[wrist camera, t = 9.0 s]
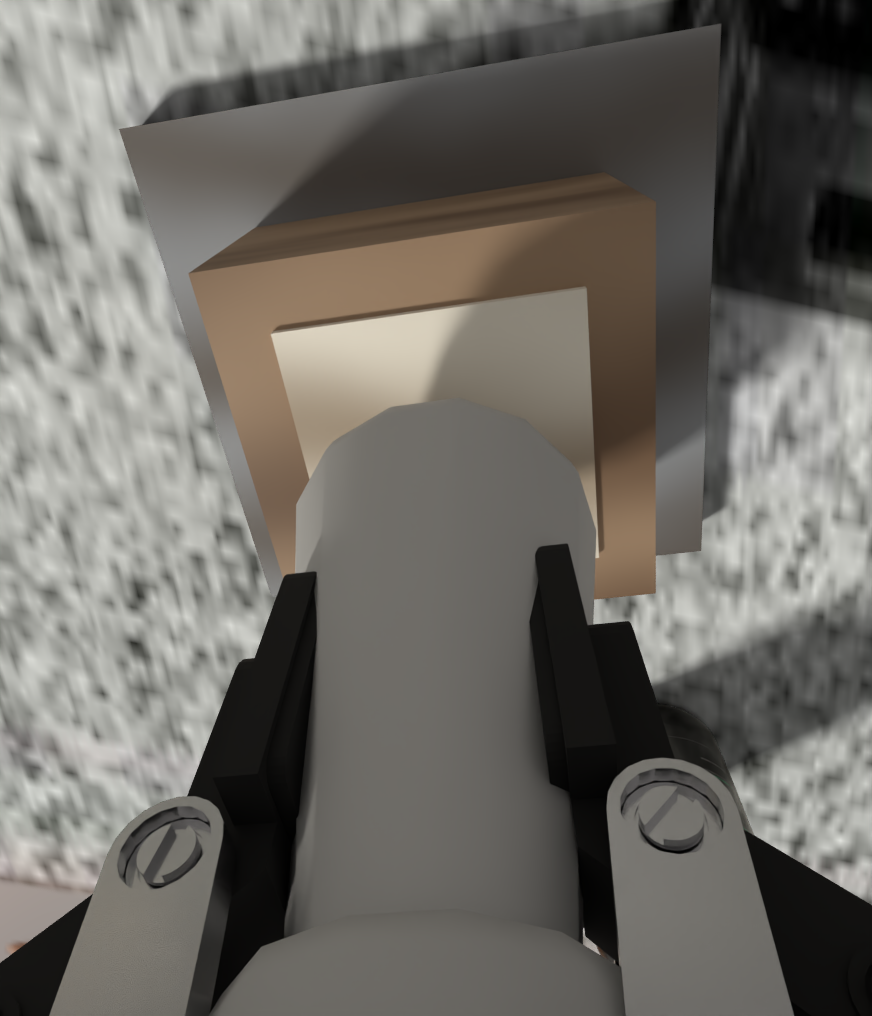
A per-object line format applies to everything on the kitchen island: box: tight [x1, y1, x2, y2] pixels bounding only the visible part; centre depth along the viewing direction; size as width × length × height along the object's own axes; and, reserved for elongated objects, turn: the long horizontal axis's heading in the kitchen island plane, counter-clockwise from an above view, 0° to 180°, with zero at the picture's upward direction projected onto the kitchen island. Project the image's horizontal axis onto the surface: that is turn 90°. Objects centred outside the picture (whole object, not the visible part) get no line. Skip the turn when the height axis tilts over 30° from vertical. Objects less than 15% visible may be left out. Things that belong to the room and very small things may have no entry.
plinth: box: [119, 24, 721, 599], centre depth 21 cm, size 16×16×8 cm
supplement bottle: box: [596, 704, 754, 963], centre depth 28 cm, size 7×7×12 cm
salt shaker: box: [209, 398, 625, 1016], centre depth 11 cm, size 6×6×13 cm
